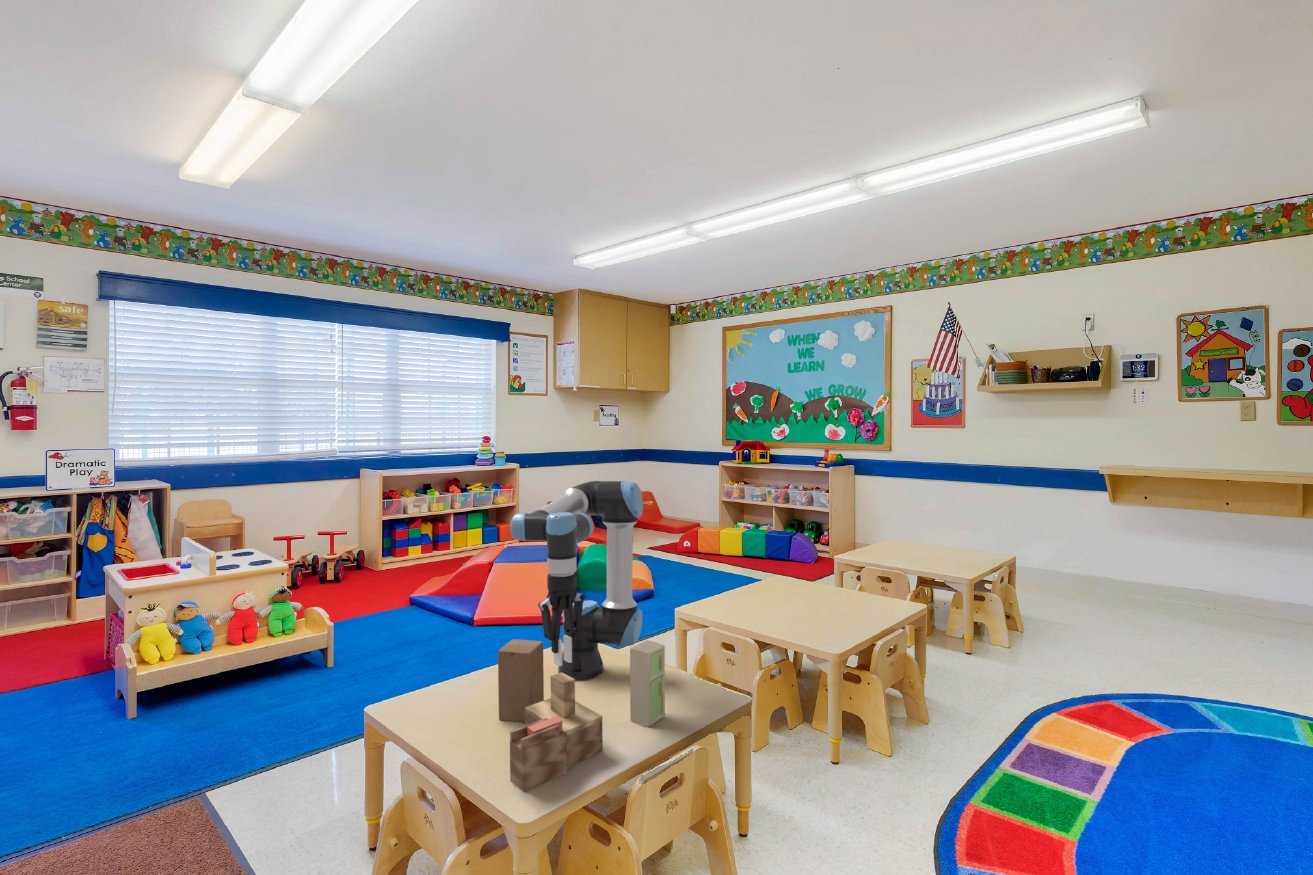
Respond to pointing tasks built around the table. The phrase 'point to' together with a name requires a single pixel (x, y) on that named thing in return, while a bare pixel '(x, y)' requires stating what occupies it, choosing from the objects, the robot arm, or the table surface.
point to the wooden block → (519, 678)
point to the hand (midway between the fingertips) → (563, 662)
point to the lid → (564, 706)
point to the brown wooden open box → (549, 752)
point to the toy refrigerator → (647, 683)
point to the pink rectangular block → (544, 725)
